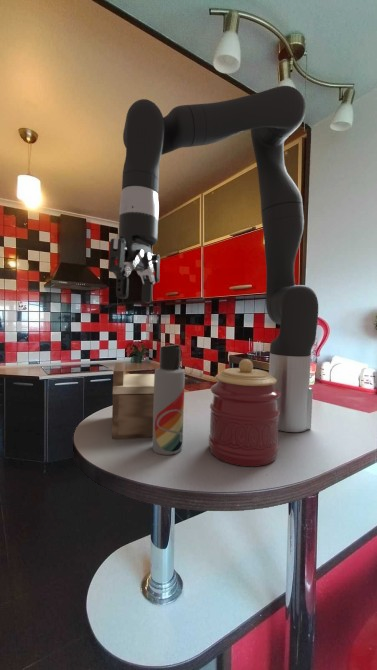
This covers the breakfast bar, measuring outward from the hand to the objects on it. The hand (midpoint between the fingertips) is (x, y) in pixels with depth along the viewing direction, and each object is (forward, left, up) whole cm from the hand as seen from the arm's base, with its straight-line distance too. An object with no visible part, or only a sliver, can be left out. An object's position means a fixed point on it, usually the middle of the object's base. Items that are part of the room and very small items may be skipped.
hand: (135, 300), depth 60 cm
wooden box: (-2, -8, -28) cm, 29 cm away
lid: (-2, -8, -19) cm, 21 cm away
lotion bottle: (-7, +5, -28) cm, 30 cm away
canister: (-20, +8, -28) cm, 36 cm away
